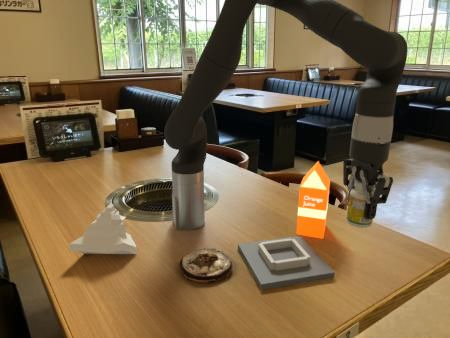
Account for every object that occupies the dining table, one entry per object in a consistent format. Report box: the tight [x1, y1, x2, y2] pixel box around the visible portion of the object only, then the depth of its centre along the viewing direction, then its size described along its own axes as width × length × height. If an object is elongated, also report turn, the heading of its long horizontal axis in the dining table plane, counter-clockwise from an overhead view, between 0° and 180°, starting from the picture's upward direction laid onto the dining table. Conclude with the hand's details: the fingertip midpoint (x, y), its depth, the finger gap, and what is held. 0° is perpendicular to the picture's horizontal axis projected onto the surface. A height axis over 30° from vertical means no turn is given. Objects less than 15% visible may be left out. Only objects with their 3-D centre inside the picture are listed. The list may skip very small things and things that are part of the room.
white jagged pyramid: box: [68, 202, 138, 255], centre depth 96 cm, size 12×15×14 cm
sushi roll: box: [179, 247, 233, 284], centre depth 89 cm, size 15×15×4 cm
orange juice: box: [295, 161, 331, 239], centre depth 105 cm, size 8×9×20 cm
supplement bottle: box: [346, 180, 375, 229], centre depth 79 cm, size 5×5×10 cm
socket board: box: [237, 235, 335, 291], centre depth 91 cm, size 18×18×4 cm
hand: (360, 212), depth 80 cm, fingers closed on supplement bottle, 5 cm apart
